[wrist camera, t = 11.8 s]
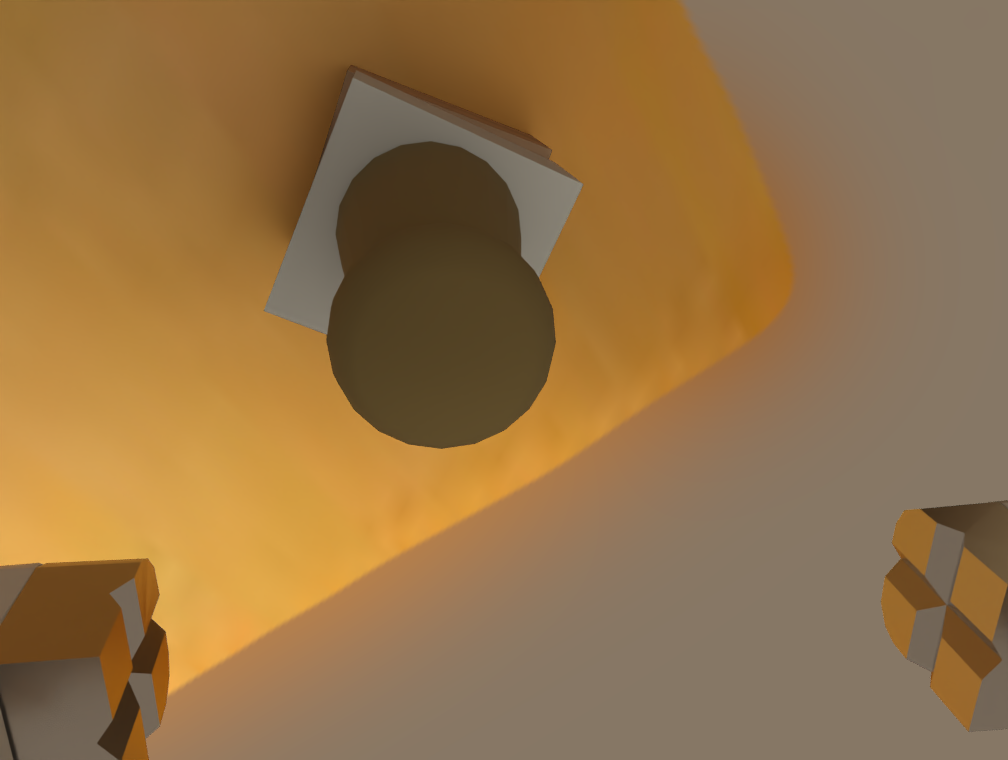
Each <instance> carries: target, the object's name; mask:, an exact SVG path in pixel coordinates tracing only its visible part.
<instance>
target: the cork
mask: <svg viewBox="0 0 1008 760" xmlns="http://www.w3.org/2000/svg"><path fill="white" fill-rule="evenodd" d="M336 240H337V245H338V250H339V255H340V261H341V265H342V269H343V273H344V278H343V280H342V282H341V284H340V286H339V288H338V290H337V292H336V294H335V296H334V298H333V301H332V305H331V311H330V318H329V325H328V332H327V340H326V341H327V346H328V351H329V356H330V360H331V365H332V370H333V374H334V376H335V378H336V380H337V382H338V384H339V385H340V387H341V389H342V390H343V392H344V394H345V395H346V397H347V399H348V401H349V402H350V404H351V406H352V407H353V409H354V410H355V411H356V412H357V413H358V414H360V415H361V416H362V417H363V418H364V419H365V420H366V421H368V422H369V423H370V424H371V425H372V426H373V427H375V428H376V429H377V430H378V431H380V432H382V433H384V434H386V435H389V436H391V437H393V438H395V439H398V440H400V441H402V442H405V443H407V444H410V445H417V446H425V447H433V448H440V449H443V448H450V447H457V446H463V445H470V444H475V443H477V442H480V441H482V440H484V439H486V438H489V437H491V436H493V435H495V434H497V433H500V432H502V431H504V430H505V429H507V428H508V427H509V426H510V425H511V424H512V423H514V422H515V421H516V420H517V419H518V418H519V417H520V416H522V415H523V414H524V413H525V412H526V411H527V410H529V409H530V407H531V405H532V404H533V402H534V401H535V399H536V397H537V396H538V394H539V392H540V391H541V389H542V388H543V386H544V384H545V383H546V381H547V377H548V372H549V368H550V364H551V360H552V356H553V352H554V348H555V343H556V340H555V329H554V318H553V308H552V306H551V304H550V302H549V299H548V297H547V295H546V293H545V291H544V288H543V286H542V284H541V282H540V280H539V277H538V276H537V274H536V272H535V270H534V269H533V268H532V267H531V266H530V265H529V264H528V263H527V262H526V261H525V260H524V259H523V258H522V257H521V230H520V220H519V210H518V208H517V205H516V203H515V201H514V199H513V197H512V194H511V192H510V190H509V188H508V185H507V183H506V182H505V181H504V180H503V179H502V178H501V177H500V176H499V175H498V173H497V172H496V171H495V170H494V169H493V168H492V167H491V166H490V165H489V164H488V162H486V161H485V160H483V159H481V158H479V157H478V156H476V155H474V154H472V153H470V152H469V151H467V150H465V149H463V148H462V147H458V146H453V145H448V144H443V143H438V142H433V141H429V142H421V143H413V144H405V145H400V146H398V147H396V148H394V149H392V150H390V151H388V152H386V153H383V154H381V155H379V156H377V157H375V158H373V159H372V160H371V161H370V162H369V163H368V164H367V165H366V166H365V167H364V168H363V169H362V170H361V171H360V172H359V173H358V174H357V175H356V176H355V177H354V178H353V179H352V181H351V183H350V185H349V187H348V189H347V191H346V193H345V195H344V197H343V199H342V201H341V203H340V205H339V212H338V219H337V227H336Z"/></svg>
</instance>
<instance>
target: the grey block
mask: <svg viewBox="0 0 1008 760" xmlns="http://www.w3.org/2000/svg"><path fill="white" fill-rule="evenodd" d="M429 141H433V142H438V143H443V144H448V145H453V146H458V147H462V148H463V149H465V150H467V151H469V152H470V153H472V154H474V155H476V156H478V157H479V158H481V159H483V160H485V161H486V162H488V164H489V165H490V166H491V167H492V168H493V169H494V170H495V171H496V172H497V173H498V175H499V176H500V177H501V178H502V179H503V180H504V181H505V182H506V183H507V185H508V188H509V190H510V192H511V194H512V197H513V199H514V201H515V203H516V205H517V208H518V210H519V220H520V230H521V257H522V258H523V259H524V260H525V261H526V262H527V263H528V264H529V265H530V266H531V267H532V268H533V269H534V270H535V272H536V274H537V276H538V277H539V276H540V274H541V272H542V270H543V268H544V266H545V264H546V262H547V260H548V257H549V255H550V253H551V251H552V249H553V247H554V245H555V243H556V241H557V239H558V237H559V234H560V232H561V230H562V228H563V226H564V224H565V222H566V220H567V218H568V216H569V214H570V211H571V209H572V207H573V205H574V203H575V201H576V199H577V197H578V195H579V193H580V190H581V188H582V186H583V184H582V183H581V182H580V181H578V180H577V179H576V178H574V177H573V176H572V175H571V174H569V173H568V172H567V171H565V170H564V169H563V168H561V167H560V166H559V165H557V164H556V163H555V162H553V161H550V160H548V159H546V158H544V157H542V156H540V155H538V154H535V153H533V152H531V151H529V150H527V149H525V148H522V147H520V146H518V145H516V144H514V143H512V142H510V141H507V140H505V139H503V138H501V137H499V136H497V135H495V134H492V133H490V132H488V131H486V130H484V129H482V128H480V127H477V126H475V125H473V124H471V123H469V122H467V121H465V120H462V119H460V118H458V117H456V116H454V115H452V114H450V113H447V112H445V111H443V110H441V109H439V108H437V107H434V106H432V105H430V104H428V103H426V102H424V101H422V100H419V99H417V98H415V97H413V96H411V95H409V94H407V93H404V92H402V91H400V90H398V89H396V88H394V87H392V86H389V85H387V84H385V83H383V82H381V81H379V80H377V79H374V78H372V77H370V76H368V75H366V74H364V73H362V72H359V71H357V70H356V72H355V74H354V76H353V79H352V81H351V84H350V87H349V89H348V92H347V94H346V97H345V100H344V102H343V105H342V108H341V110H340V113H339V115H338V118H337V121H336V123H335V126H334V128H333V131H332V134H331V136H330V139H329V142H328V144H327V147H326V149H325V152H324V155H323V157H322V160H321V163H320V165H319V168H318V170H317V173H316V176H315V178H314V181H313V183H312V186H311V189H310V191H309V194H308V197H307V199H306V202H305V204H304V207H303V210H302V212H301V215H300V218H299V220H298V223H297V225H296V228H295V231H294V233H293V236H292V239H291V241H290V244H289V246H288V249H287V252H286V254H285V257H284V259H283V262H282V265H281V267H280V270H279V273H278V275H277V278H276V280H275V283H274V286H273V288H272V291H271V294H270V296H269V299H268V301H267V304H266V307H265V309H264V311H265V312H268V313H271V314H273V315H276V316H279V317H281V318H284V319H287V320H289V321H292V322H295V323H297V324H300V325H303V326H305V327H308V328H311V329H313V330H316V331H319V332H321V333H324V334H327V332H328V325H329V318H330V311H331V305H332V301H333V298H334V296H335V294H336V292H337V290H338V288H339V286H340V284H341V282H342V280H343V278H344V273H343V269H342V265H341V261H340V255H339V250H338V245H337V240H336V227H337V219H338V212H339V205H340V203H341V201H342V199H343V197H344V195H345V193H346V191H347V189H348V187H349V185H350V183H351V181H352V179H353V178H354V177H355V176H356V175H357V174H358V173H359V172H360V171H361V170H362V169H363V168H364V167H365V166H366V165H367V164H368V163H369V162H370V161H371V160H372V159H373V158H375V157H377V156H379V155H381V154H383V153H386V152H388V151H390V150H392V149H394V148H396V147H398V146H400V145H405V144H413V143H421V142H429Z"/></svg>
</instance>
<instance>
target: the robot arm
mask: <svg viewBox="0 0 1008 760" xmlns="http://www.w3.org/2000/svg"><path fill="white" fill-rule="evenodd" d="M892 544H893V546H894V547H895V549H896V551H897V552H898V554H899V556H900V558H901V559H900V560H899V562H898V563H897V564H896V565H895V566H894V567H893V569H891V570H890V571H889V573H888V574H887V575H886V576H885V580H884V586H883V593H882V599H881V605H882V610H883V616H884V622H885V627H886V629H887V631H888V633H889V635H890V637H891V639H892V641H893V643H894V644H895V646H896V647H897V648H898V649H899V651H900V652H901V653H902V654H903V656H904V657H905V658H906V659H907V660H910V661H911V662H913V663H915V664H917V665H919V666H921V667H923V668H925V669H927V670H929V671H931V682H930V688H931V689H932V690H933V691H934V692H935V693H936V695H937V696H938V697H939V698H940V699H941V700H942V702H943V703H944V704H945V705H946V706H947V707H948V709H949V710H950V711H951V712H952V713H953V714H954V716H955V717H956V718H957V719H958V720H959V721H960V723H961V724H962V725H963V726H964V727H965V728H966V730H967V731H968V732H974V731H987V730H1002V729H1008V500H1004V501H995V502H988V503H978V504H967V505H956V506H946V507H936V508H924V509H914V510H905V511H904V512H903V513H902V515H901V517H900V518H899V520H898V521H897V523H896V527H895V531H894V536H893V540H892ZM159 595H160V594H159V589H158V584H157V579H156V574H155V569H154V566H153V565H152V564H151V562H150V561H149V559H148V558H146V559H124V560H103V561H81V562H60V563H46V564H40V563H32V564H19V565H7V566H0V760H149V757H148V751H147V745H146V738H147V737H148V736H149V735H151V734H152V733H153V732H154V731H155V730H156V729H157V728H159V727H160V725H161V720H162V717H163V714H164V710H165V707H166V702H167V693H168V684H169V652H168V645H167V638H166V632H165V631H164V630H163V629H162V628H161V627H160V626H159V625H158V624H157V623H156V622H154V621H153V620H152V619H151V617H152V615H153V612H154V609H155V606H156V604H157V601H158V598H159Z"/></svg>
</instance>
